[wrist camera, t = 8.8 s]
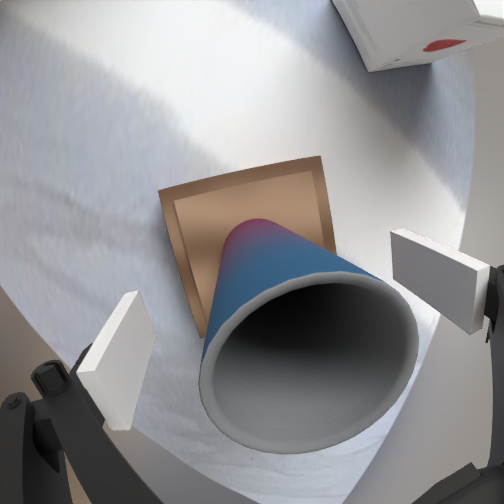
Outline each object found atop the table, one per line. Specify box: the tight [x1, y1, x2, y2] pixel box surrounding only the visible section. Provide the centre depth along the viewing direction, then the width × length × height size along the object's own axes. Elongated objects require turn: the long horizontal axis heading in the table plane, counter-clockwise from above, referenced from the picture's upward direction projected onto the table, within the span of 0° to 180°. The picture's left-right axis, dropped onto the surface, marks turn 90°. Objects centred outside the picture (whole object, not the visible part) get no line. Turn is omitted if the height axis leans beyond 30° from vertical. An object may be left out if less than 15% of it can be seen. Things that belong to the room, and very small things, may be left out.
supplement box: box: [332, 0, 504, 72], centre depth 15 cm, size 9×9×15 cm
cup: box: [198, 218, 419, 454], centre depth 15 cm, size 7×7×15 cm
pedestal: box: [158, 156, 337, 338], centre depth 24 cm, size 12×12×3 cm
